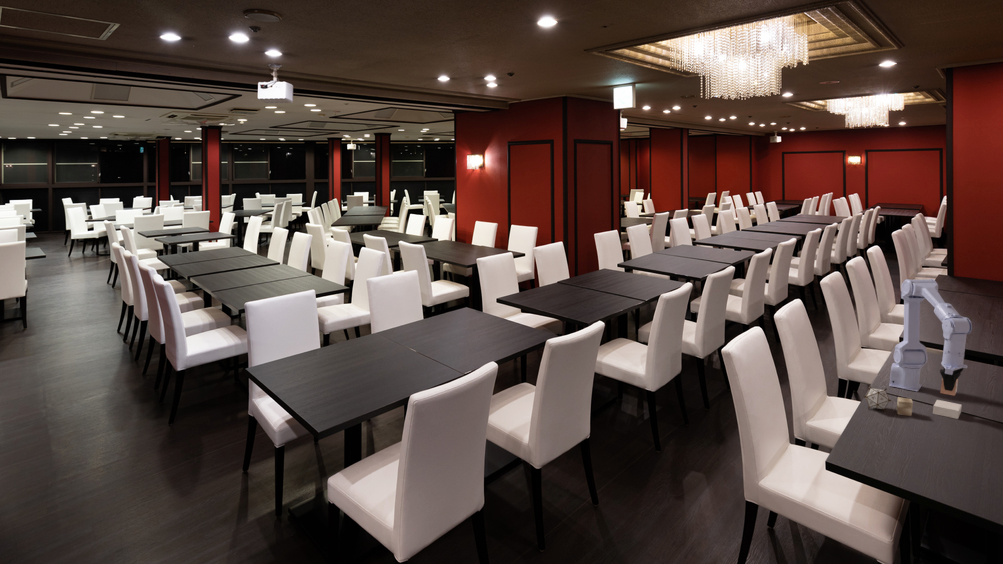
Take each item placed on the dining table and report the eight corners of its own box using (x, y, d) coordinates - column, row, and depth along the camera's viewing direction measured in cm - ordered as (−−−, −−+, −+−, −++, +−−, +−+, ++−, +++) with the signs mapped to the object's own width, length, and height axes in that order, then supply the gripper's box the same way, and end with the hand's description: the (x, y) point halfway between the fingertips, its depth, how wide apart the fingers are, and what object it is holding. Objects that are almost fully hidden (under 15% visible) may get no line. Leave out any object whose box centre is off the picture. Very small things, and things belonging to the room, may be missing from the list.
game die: (878, 420, 202) (880, 406, 196) (856, 405, 209) (858, 390, 202) (896, 406, 204) (899, 391, 197) (873, 391, 210) (876, 376, 203)
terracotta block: (940, 392, 197) (941, 379, 196) (942, 389, 199) (943, 376, 198) (954, 395, 194) (956, 382, 193) (956, 392, 196) (958, 378, 196)
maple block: (897, 414, 199) (898, 401, 198) (896, 410, 202) (897, 397, 201) (911, 416, 197) (912, 403, 196) (910, 411, 200) (911, 398, 199)
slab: (932, 413, 198) (933, 405, 197) (936, 407, 203) (937, 399, 202) (957, 419, 193) (958, 410, 192) (960, 412, 198) (961, 404, 197)
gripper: (965, 359, 186) (961, 397, 188) (971, 348, 196) (967, 385, 198) (939, 354, 191) (935, 392, 193) (946, 344, 201) (942, 380, 203)
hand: (949, 388), depth 196 cm, fingers closed on terracotta block, 4 cm apart
